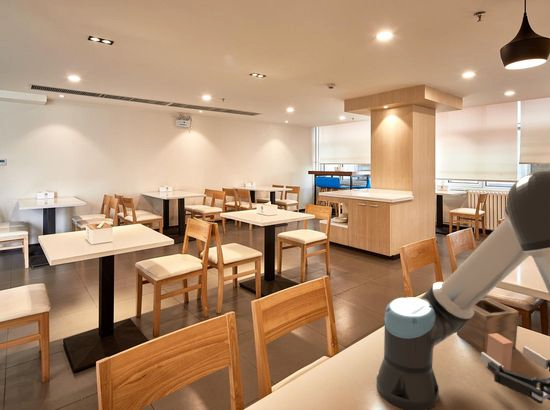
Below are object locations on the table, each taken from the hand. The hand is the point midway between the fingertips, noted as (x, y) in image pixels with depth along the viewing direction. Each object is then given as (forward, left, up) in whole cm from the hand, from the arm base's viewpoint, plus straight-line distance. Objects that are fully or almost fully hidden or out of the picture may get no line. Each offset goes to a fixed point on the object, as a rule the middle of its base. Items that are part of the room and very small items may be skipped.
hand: (503, 353), depth 91 cm
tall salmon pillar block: (0, +1, -6) cm, 6 cm away
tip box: (+9, +15, -6) cm, 18 cm away
